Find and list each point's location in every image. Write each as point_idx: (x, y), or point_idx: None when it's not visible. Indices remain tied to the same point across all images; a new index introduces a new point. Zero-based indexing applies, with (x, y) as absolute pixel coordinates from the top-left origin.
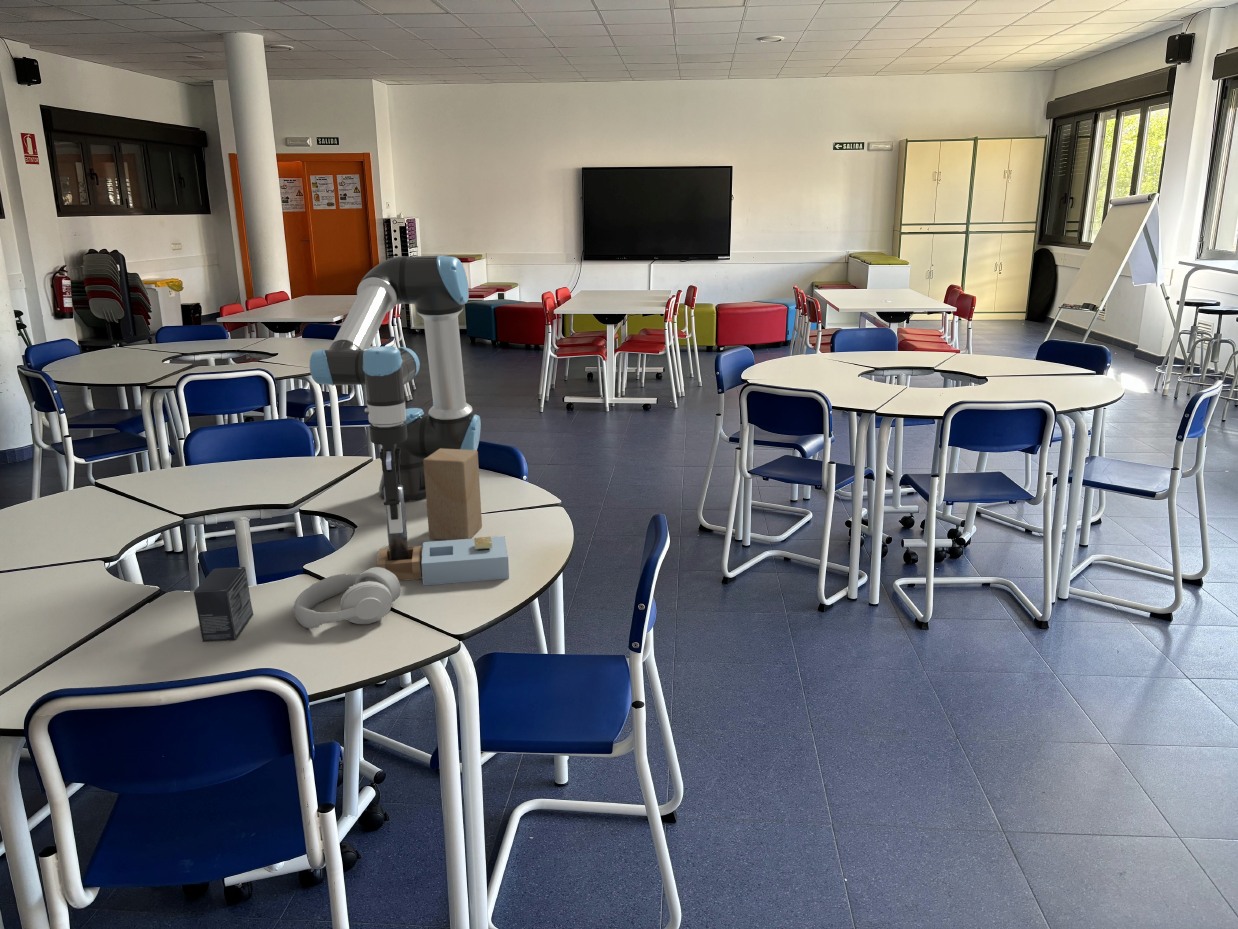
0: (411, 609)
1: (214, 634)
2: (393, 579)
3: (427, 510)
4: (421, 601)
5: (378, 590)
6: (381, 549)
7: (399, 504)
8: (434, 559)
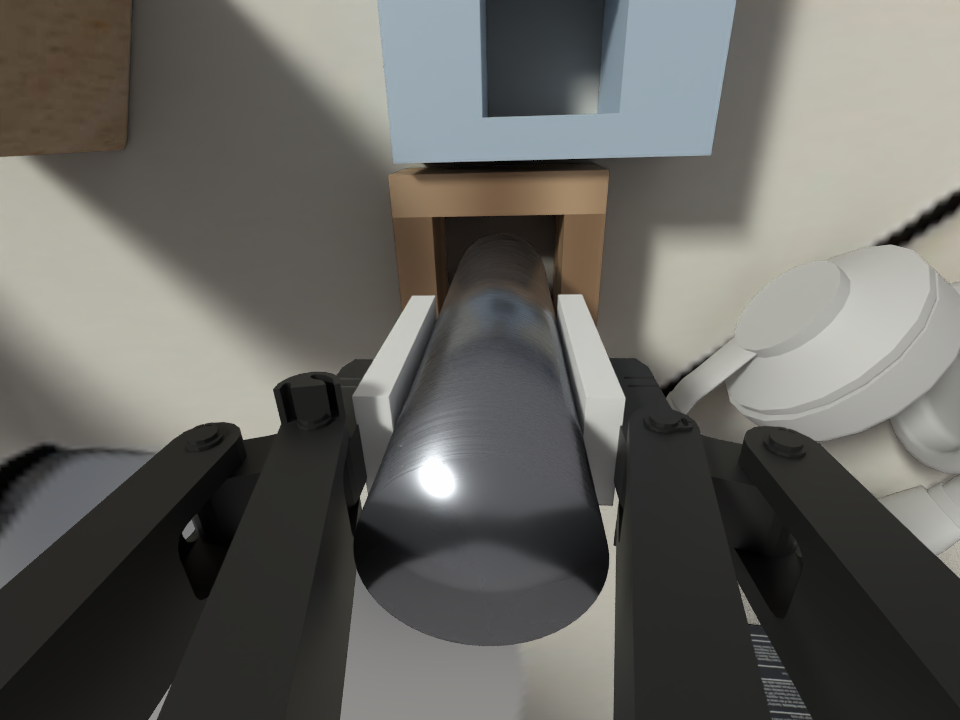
0: (900, 188)
1: None
2: (943, 291)
3: None
4: (839, 148)
5: None
6: None
7: (620, 400)
8: (675, 75)
